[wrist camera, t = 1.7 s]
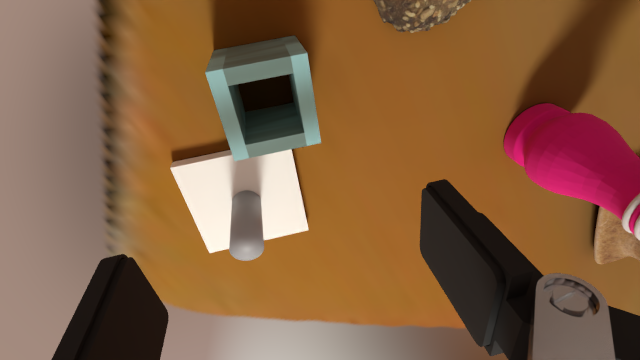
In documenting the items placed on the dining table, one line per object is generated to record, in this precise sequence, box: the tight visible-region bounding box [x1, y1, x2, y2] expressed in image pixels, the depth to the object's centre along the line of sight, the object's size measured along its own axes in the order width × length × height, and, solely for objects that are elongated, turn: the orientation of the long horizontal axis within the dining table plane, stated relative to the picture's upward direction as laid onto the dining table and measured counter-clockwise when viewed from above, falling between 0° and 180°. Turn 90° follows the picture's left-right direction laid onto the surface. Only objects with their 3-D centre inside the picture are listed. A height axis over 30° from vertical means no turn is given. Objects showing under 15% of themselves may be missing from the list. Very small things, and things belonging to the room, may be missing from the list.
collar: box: [205, 35, 321, 161], centre depth 24 cm, size 6×6×6 cm
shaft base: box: [170, 149, 309, 261], centre depth 28 cm, size 10×10×7 cm
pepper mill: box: [504, 103, 640, 240], centre depth 25 cm, size 7×7×20 cm
